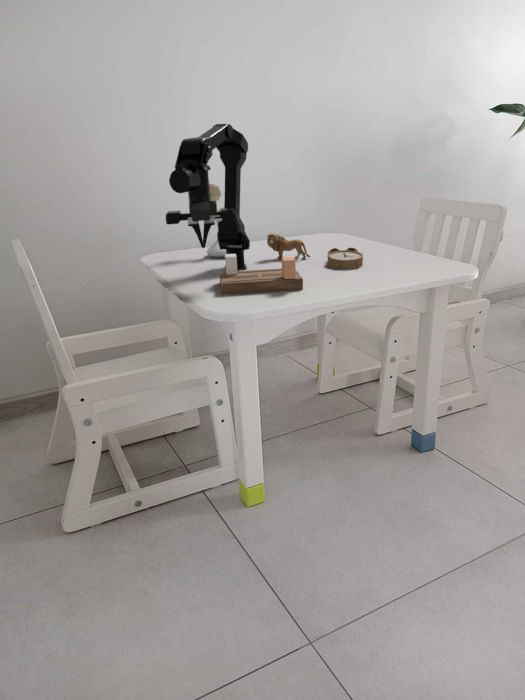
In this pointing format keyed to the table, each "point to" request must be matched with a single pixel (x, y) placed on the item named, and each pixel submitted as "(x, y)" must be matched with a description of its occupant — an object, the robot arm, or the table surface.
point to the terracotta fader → (288, 268)
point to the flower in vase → (214, 196)
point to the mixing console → (258, 282)
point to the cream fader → (231, 264)
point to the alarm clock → (345, 258)
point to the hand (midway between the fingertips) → (203, 247)
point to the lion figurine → (285, 245)
